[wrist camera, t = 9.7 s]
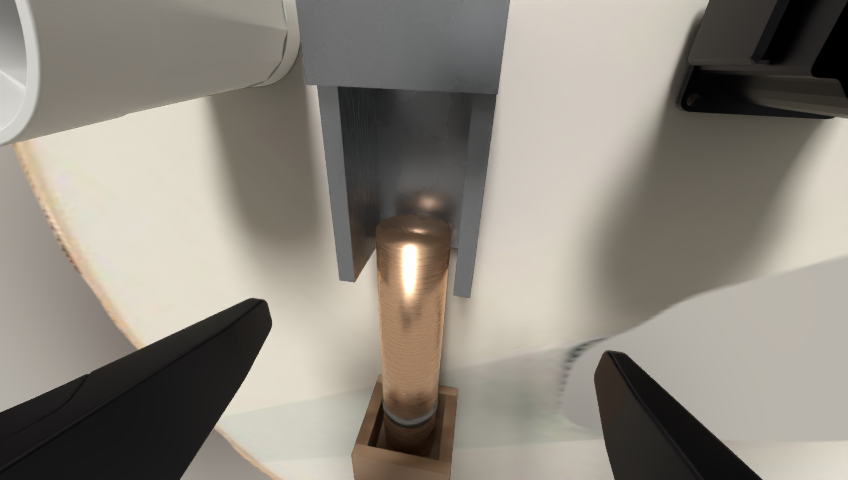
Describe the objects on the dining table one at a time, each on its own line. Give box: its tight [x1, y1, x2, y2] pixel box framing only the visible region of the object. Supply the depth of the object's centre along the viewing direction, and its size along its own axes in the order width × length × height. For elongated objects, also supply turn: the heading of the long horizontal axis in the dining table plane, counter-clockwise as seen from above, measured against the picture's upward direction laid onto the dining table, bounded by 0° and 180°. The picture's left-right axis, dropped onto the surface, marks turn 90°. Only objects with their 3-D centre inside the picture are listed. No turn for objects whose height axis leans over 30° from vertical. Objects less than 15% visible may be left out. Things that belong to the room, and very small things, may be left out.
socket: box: [351, 375, 458, 480], centre depth 26 cm, size 7×4×7 cm, turn 88°
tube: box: [376, 214, 451, 457], centre depth 22 cm, size 19×4×4 cm, turn 178°
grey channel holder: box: [295, 0, 510, 298], centre depth 15 cm, size 12×7×7 cm, turn 178°
